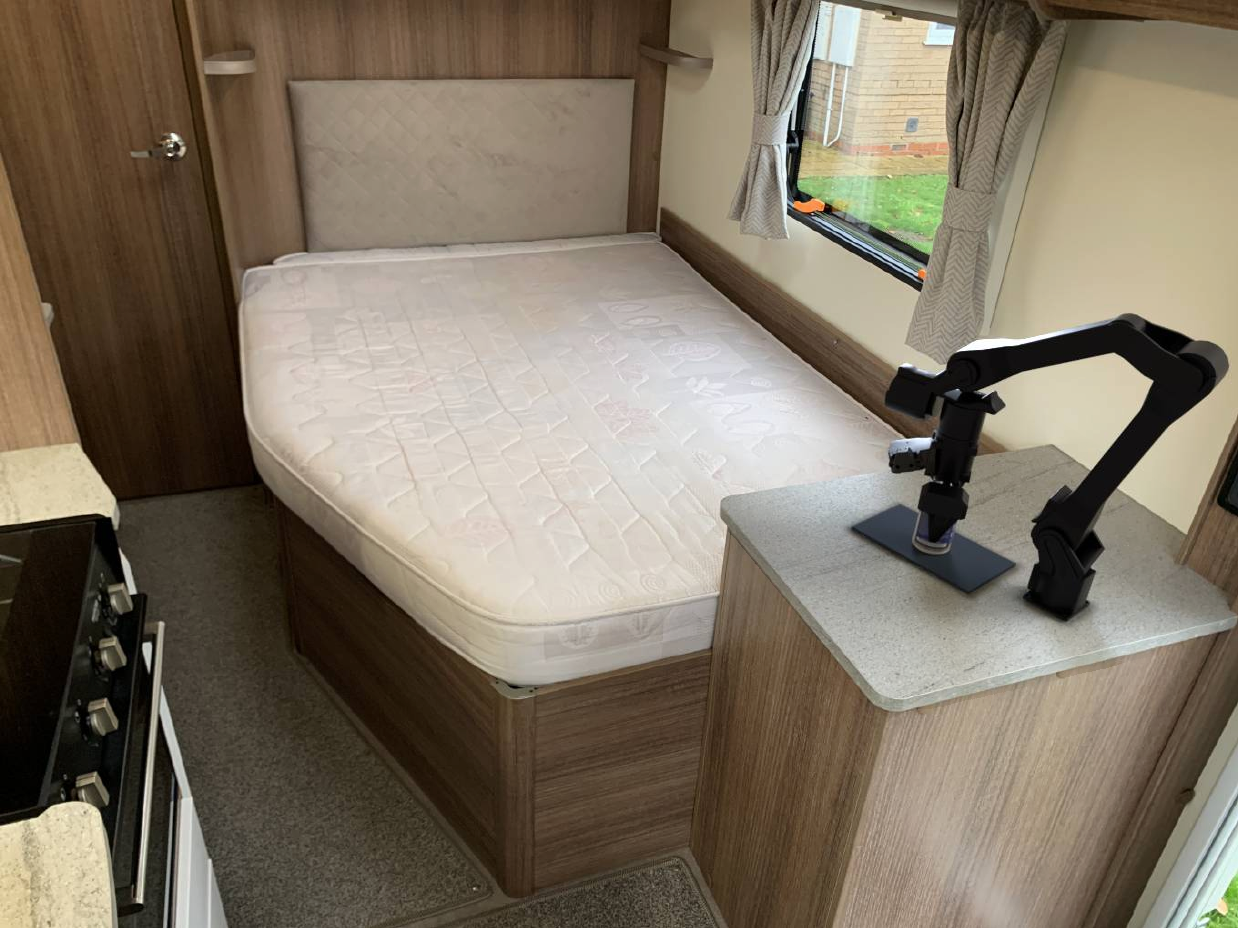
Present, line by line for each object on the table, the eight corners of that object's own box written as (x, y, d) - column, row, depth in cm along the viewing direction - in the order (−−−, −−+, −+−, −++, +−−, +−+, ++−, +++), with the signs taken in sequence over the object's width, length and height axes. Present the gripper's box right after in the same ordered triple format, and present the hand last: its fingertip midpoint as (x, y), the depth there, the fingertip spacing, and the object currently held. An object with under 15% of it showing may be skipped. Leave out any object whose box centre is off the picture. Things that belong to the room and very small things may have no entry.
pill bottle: (954, 557, 136) (969, 498, 132) (916, 554, 136) (931, 496, 131) (943, 536, 141) (958, 479, 136) (907, 534, 141) (921, 477, 136)
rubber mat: (1015, 566, 136) (1016, 563, 136) (968, 594, 129) (968, 591, 129) (899, 506, 149) (900, 503, 149) (851, 529, 142) (851, 526, 142)
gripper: (905, 395, 140) (885, 487, 147) (890, 447, 124) (869, 547, 132) (984, 410, 137) (960, 504, 144) (979, 465, 121) (952, 567, 129)
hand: (934, 528), depth 137 cm, fingers open, 7 cm apart
